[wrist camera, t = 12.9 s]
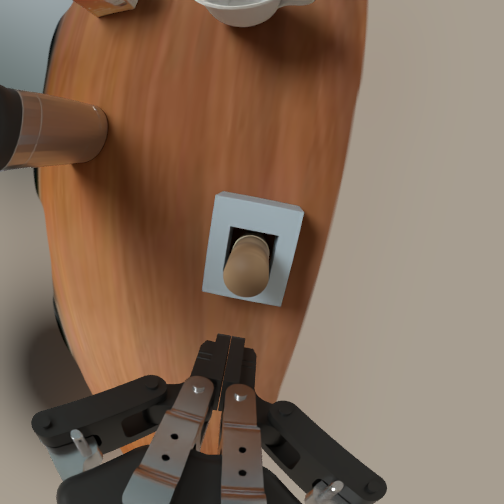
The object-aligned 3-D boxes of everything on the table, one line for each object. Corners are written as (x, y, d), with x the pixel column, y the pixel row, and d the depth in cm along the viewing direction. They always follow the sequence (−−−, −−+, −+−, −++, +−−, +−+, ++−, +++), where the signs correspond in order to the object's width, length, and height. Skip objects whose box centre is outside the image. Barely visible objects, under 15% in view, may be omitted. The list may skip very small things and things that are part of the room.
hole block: (279, 289, 38) (280, 306, 33) (209, 275, 38) (201, 291, 33) (299, 206, 34) (304, 212, 30) (222, 191, 34) (215, 195, 30)
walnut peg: (243, 261, 37) (232, 303, 26) (232, 232, 36) (215, 263, 25) (273, 251, 37) (275, 290, 25) (262, 221, 35) (259, 248, 24)
